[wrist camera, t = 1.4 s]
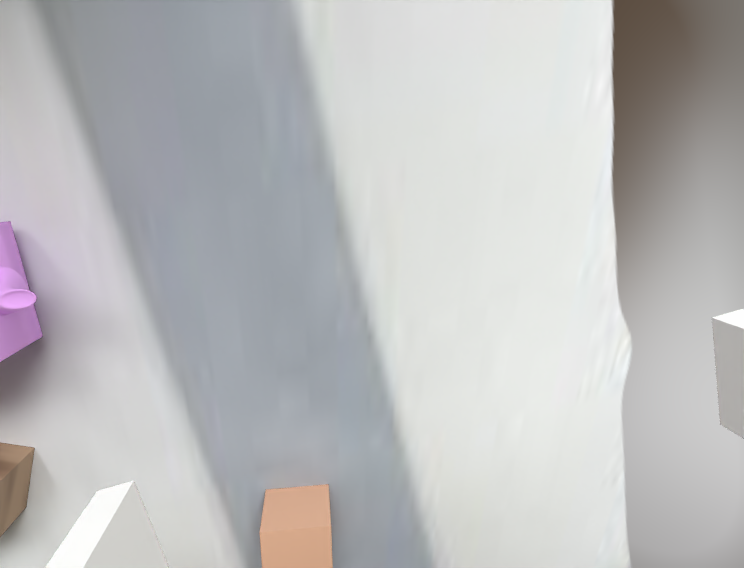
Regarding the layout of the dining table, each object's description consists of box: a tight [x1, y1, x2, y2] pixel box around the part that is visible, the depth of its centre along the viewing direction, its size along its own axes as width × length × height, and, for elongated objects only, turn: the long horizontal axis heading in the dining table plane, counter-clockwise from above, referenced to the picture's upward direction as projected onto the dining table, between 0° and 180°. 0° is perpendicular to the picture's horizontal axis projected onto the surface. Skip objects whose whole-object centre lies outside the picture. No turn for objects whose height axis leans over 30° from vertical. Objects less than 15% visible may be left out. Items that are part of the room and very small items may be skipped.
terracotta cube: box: [260, 484, 332, 568], centre depth 38 cm, size 5×5×5 cm
